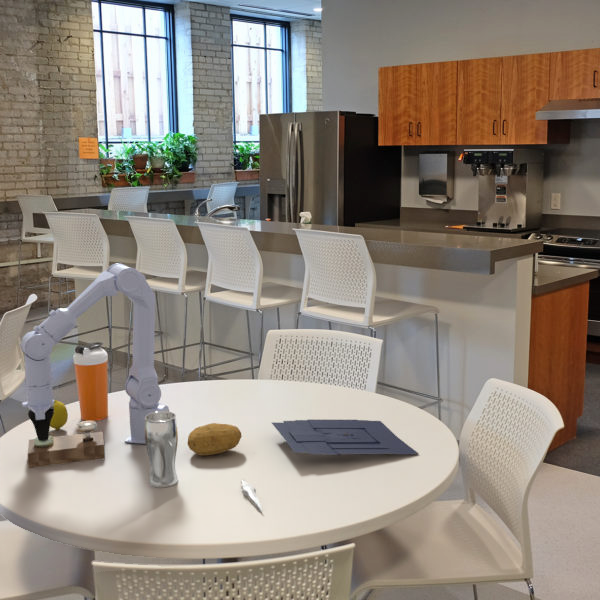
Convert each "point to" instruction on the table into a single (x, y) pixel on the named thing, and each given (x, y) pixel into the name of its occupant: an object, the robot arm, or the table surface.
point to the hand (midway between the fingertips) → (43, 439)
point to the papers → (341, 437)
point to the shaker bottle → (92, 381)
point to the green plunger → (43, 442)
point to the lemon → (59, 415)
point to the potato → (213, 438)
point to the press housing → (67, 450)
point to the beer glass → (161, 447)
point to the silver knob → (87, 428)
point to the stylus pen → (250, 493)
